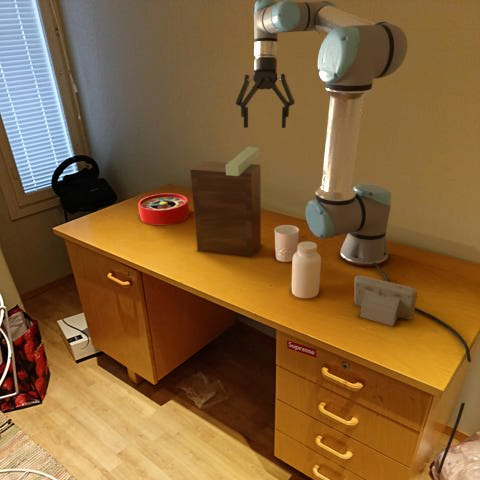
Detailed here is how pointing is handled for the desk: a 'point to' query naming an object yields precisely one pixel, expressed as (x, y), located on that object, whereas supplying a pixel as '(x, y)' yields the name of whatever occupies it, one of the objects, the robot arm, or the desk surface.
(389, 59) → the robot arm
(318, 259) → the pill bottle
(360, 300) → the digital clock
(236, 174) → the pencil tin
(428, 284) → the desk surface
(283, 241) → the white cup
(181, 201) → the toy clock
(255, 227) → the shelf stand
